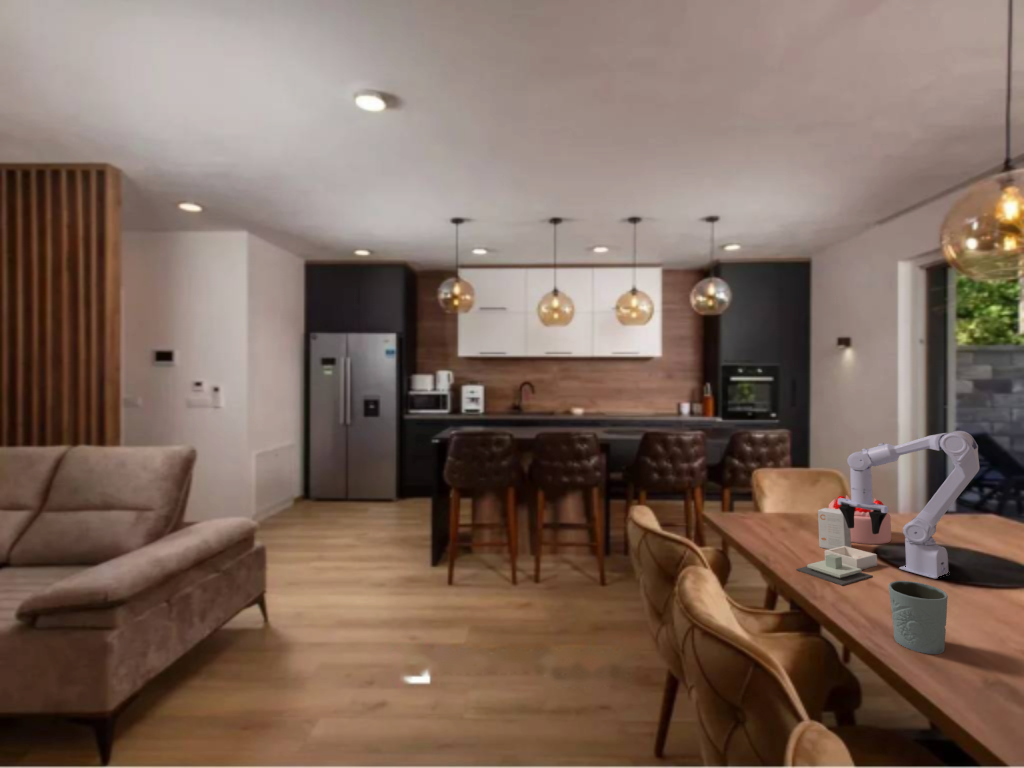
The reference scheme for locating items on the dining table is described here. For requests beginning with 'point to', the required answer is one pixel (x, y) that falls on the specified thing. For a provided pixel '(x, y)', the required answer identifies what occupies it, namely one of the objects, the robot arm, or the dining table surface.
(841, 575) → the lid
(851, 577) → the mat
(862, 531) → the cake
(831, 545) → the small box
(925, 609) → the green embossed pot
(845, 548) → the shallow white tray
